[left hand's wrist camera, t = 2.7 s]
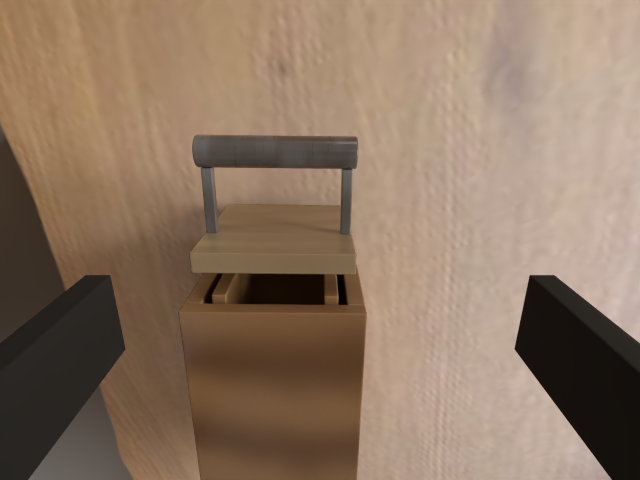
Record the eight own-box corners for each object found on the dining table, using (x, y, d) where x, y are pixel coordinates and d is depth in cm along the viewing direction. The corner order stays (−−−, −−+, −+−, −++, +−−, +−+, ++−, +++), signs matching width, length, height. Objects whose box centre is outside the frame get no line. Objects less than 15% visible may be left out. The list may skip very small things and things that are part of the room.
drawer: (220, 125, 28) (174, 142, 19) (349, 126, 28) (363, 144, 19) (240, 385, 36) (214, 483, 27) (340, 386, 36) (347, 484, 27)
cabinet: (225, 237, 32) (177, 311, 21) (351, 238, 32) (367, 313, 21) (239, 414, 38) (208, 540, 28) (344, 415, 38) (353, 541, 28)
